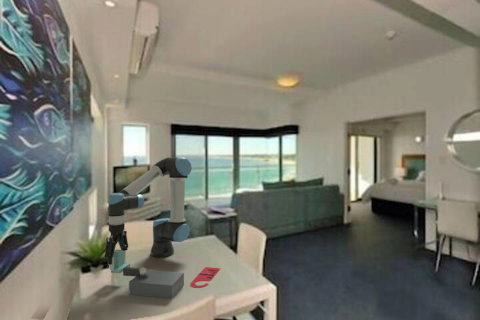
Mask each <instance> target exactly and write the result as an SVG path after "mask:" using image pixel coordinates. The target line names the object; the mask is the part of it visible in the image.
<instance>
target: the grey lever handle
mask: <svg viewBox="0 0 480 320" xmlns="http://www.w3.org/2000/svg"><path fill="white" fill-rule="evenodd" d="M146 270H147V268H146V267H144V266H142V267H131V266H130V267H125V268H123V272H122V277H123V276H124V277H134V278H135V277H140V278H145V277H146Z"/></svg>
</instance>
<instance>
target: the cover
mask: <svg viewBox="0 0 480 320" xmlns="http://www.w3.org/2000/svg"><path fill="white" fill-rule="evenodd" d="M113 257H114V271H111V273H112V274H121V273H123V268H125V267H131V263H129V262H128V263H127V262H126V263H123V250H121V249H115V250H114V254H113ZM111 273H110V274H111Z"/></svg>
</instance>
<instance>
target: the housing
mask: <svg viewBox="0 0 480 320" xmlns="http://www.w3.org/2000/svg"><path fill="white" fill-rule="evenodd" d="M184 285H185V272H180V271H179V272H178V271H167V270H166V271H165V270H154V269H153V270H152V269H146V277H145V278H140V277H135V276H134V277H133V278H132V279H131V280H130V281H128V290H129V291H128V294H129V295H135V296H144V295H145V296H146V297H147V296H148V297H154V296H155V298H156V297H157V298H167V299H168V298H169V299H174V297H175V296H176V295H177V294H178V292H179V291H180V289H182V287H183V286H184ZM145 296H144V297H145Z"/></svg>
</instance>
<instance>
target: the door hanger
mask: <svg viewBox="0 0 480 320" xmlns="http://www.w3.org/2000/svg"><path fill="white" fill-rule="evenodd" d="M220 270H221V268H219V267H212V266H210V267H209V266H205V267H204V268H203V269H202V270H201V271H200V272H199V273H198V274H197V275H196V277H195V278H194V279H193V280H192V281H191V282H190V287H191V288H194V289H199V288H200V289H201V288H205V287H208V286H209V283H204V284H200V285H199V284H198V285H197V284H196V283H197V282H211V281H212V280H213V279H214V278H215V276H216V275H217V274H218V273H219V271H220Z"/></svg>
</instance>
